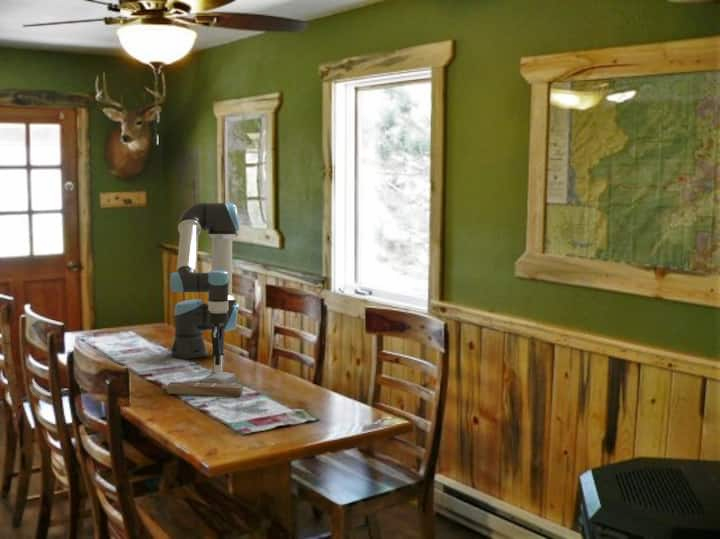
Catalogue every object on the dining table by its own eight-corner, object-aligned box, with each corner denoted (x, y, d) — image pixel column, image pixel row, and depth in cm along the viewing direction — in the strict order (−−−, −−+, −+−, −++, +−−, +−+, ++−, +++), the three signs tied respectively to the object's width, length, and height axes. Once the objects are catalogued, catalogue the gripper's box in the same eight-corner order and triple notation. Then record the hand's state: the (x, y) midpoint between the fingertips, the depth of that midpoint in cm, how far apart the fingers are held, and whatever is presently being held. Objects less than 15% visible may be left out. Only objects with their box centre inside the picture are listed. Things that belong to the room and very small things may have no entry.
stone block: (200, 392, 286) (226, 389, 284) (198, 379, 285) (223, 376, 283) (213, 384, 297) (237, 381, 295) (210, 372, 297) (235, 369, 295)
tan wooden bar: (170, 390, 280) (170, 381, 280) (242, 392, 280) (242, 384, 279) (167, 393, 276) (167, 384, 276) (240, 396, 276) (240, 387, 275)
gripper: (212, 308, 302) (212, 367, 305) (204, 314, 289) (204, 376, 292) (231, 308, 302) (231, 368, 305) (224, 314, 289) (224, 377, 292)
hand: (218, 372), depth 299 cm, fingers closed
